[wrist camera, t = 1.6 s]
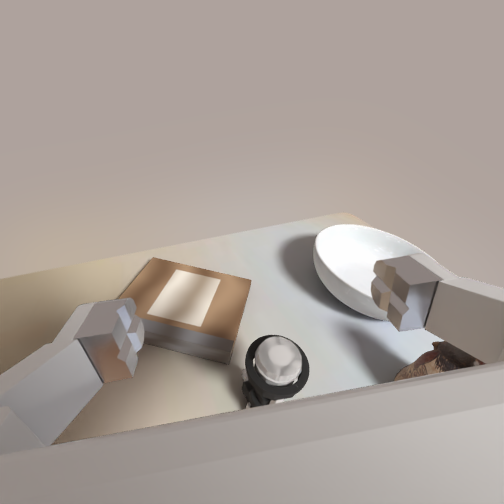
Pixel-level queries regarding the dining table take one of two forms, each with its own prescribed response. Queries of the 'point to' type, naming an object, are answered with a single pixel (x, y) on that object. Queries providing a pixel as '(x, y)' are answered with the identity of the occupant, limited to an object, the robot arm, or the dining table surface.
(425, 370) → the figurine
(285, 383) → the push button
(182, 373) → the dining table surface
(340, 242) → the serving bowl
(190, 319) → the brown board with label
